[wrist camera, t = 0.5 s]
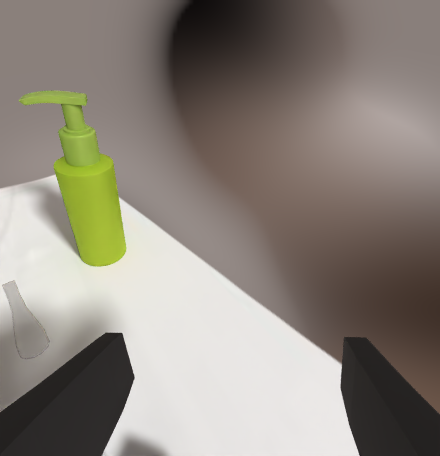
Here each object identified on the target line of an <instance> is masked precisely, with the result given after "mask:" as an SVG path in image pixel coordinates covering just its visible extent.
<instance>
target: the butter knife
mask: <svg viewBox="0 0 440 456" xmlns="http://www.w3.org/2000/svg"><path fill="white" fill-rule="evenodd" d="M2 286H3V289H4V291H5V293H6V296H7V298H8V301H9V304H10V307H11V311H12V315H13V324H14V333H15V341H16V347H17V349H18V352H19V355H20V357H21V358H24V359H29V358H34V357H36V356H38V355H40V354H41V353H42V352H43V351H44V350H45V349H46V348H47V347H48V345H49V339H48V337H47V335H46V332H45V330H44V329H43V327H42V326H41V325H40V323H39V322H38V321H37V320H36V318H35V317H34V316H33V314H32V313H31V312H30V311H29V310H28V308H27V307H26V305H25V303H24V301H23V299H22V297H21V296H20V293H19V291H18V288H17V286H16V283H15V281H14V280H13V281H11V282H8V283H6V284H4V285H2Z"/></svg>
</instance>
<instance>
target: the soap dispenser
mask: <svg viewBox="0 0 440 456" xmlns="http://www.w3.org/2000/svg"><path fill="white" fill-rule="evenodd" d="M19 102H21V103H22V104H24V105H30V104H36V103H59V104H61V106H62V110H63V114H64V118H65V122H66V125H65V126H64V127H63V128H61V129H60V130H59V131H58V133H59V137H60V141H61V144H62V148H63V152H64V157H62V158H60V159H58V160H57V161H56V162H55V163H54V170H55V174H56V177H57V180H58V184H59V187H60V190H61V194H62V197H63V200H64V203H65V207H66V210H67V213H68V217H69V220H70V223H71V227H72V230H73V233H74V237H75V240H76V243H77V247H78V250H79V253H80V257H81V259H82V260H83V262H85V263H86V264H88V265H91V266H106V265H110V264H113V263H115V262H117V261H118V260H120V259H121V258H122V257H123V256H124V254H125V252H126V243H125V237H124V230H123V223H122V217H121V210H120V204H119V197H118V191H117V184H116V177H115V171H114V164H113V160H112V159H111V158H110V157H109V156H107V155H104V154H100V153H99V148H98V143H97V137H96V132H95V130H94V129H93V128H92V127H89V126H88V125H86V124H85V122H84V116H83V111H82V106H81V105H84V106H86V103H87V95H86V94H83V93H75V92H66V91H40V92H34V93H29V94H26V95H24V96H22V98H21V99H20V100H19Z"/></svg>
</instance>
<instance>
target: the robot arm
mask: <svg viewBox="0 0 440 456" xmlns="http://www.w3.org/2000/svg"><path fill="white" fill-rule="evenodd" d="M134 378H135V377H134V374H133V370H132V366H131V363H130V359H129V356H128V352H127V349H126V345H125V341H124V338H123V334H122V333H105V334H103V335H102V336H101V337H99V338H98V339H96V340H95V341H94V342H93V343H91V344H90V345H89V346H87V347H86V348H85V349H83V350H82V351H81V352H80V353H78V354H77V355H76V356H74V357H73V358H72V359H71V360H69V361H68V362H67V363H66V364H64V365H63V366H62V367H60V368H59V369H58V370H56V371H55V372H54V373H53V374H51V375H50V376H49V377H47V378H46V379H45V380H44V381H42V382H41V383H40V384H38V385H37V386H36V387H34V388H33V389H31V390H30V391H29V392H27V393H26V394H25V395H23V396H22V397H20V398H19V399H18V400H16V401H15V402H14V403H12V404H11V405H10V406H8V407H7V408H5V409H4V410H3V411H1V412H0V456H102V454H103V452H104V450H105V447H106V445H107V443H108V441H109V439H110V437H111V435H112V433H113V431H114V429H115V427H116V424H117V422H118V420H119V418H120V416H121V414H122V412H123V409H124V407H125V404H126V401H127V398H128V396H129V393H130V390H131V387H132V384H133V381H134ZM341 392H342V396H343V400H344V405H345V409H346V413H347V417H348V421H349V425H350V428H351V431H352V434H353V437H354V440H355V443H356V446H357V449H358V452H359V455H360V456H440V414H439V413H438V412H437V411H436V410H435V409H434V408H433V407H432V406H431V405H430V404H429V403H428V402H427V401H426V400H425V399H424V398H423V397H422V396H421V395H420V394H419V393H418V392H417V391H416V390H415V389H414V388H413V387H412V386H411V385H410V384H409V383H408V382H407V381H406V380H405V379H404V378H403V377H402V376H401V374H400V373H399V372H398V371H397V370H396V369H395V368H394V367H393V366H392V365H391V364H390V363H389V362H388V361H387V360H386V358H385V357H384V356H383V355H382V354H381V353H380V352H379V351H378V350H377V349H376V348H375V347H374V346H373V344H372V343H371V342H370V341H369V340H368V339H367V338H360V337H344V345H343V359H342V373H341Z"/></svg>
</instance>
